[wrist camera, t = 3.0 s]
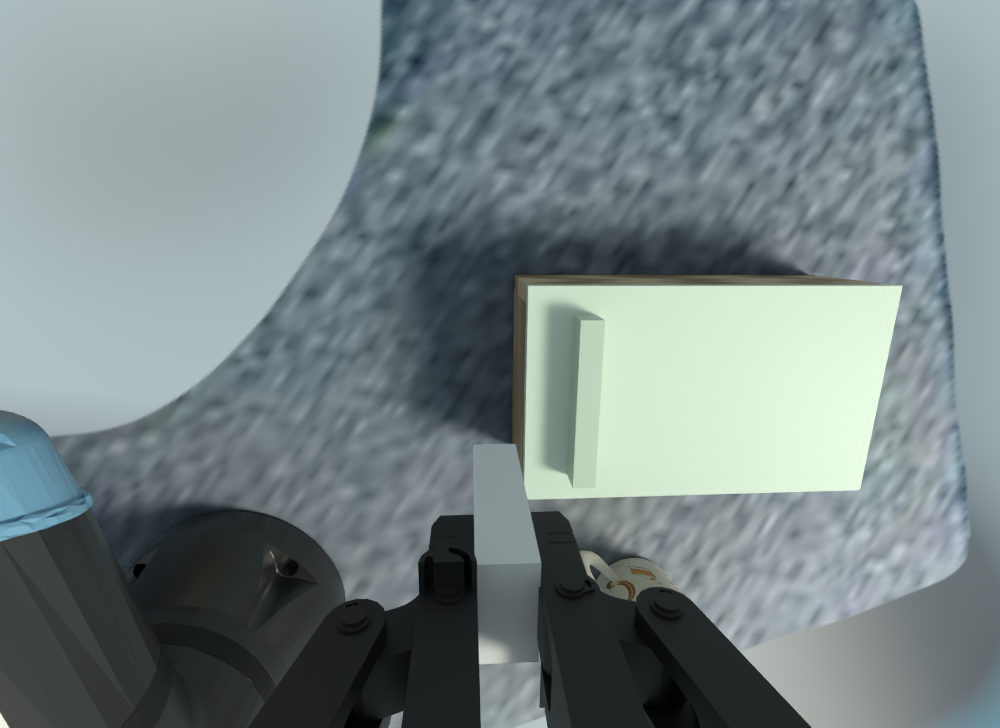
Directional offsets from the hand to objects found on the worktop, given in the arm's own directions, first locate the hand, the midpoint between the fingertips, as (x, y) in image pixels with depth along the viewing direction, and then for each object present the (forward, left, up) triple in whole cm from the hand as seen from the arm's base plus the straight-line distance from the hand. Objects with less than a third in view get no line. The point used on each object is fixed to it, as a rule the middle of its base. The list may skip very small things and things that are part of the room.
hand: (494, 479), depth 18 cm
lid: (+12, 0, -10) cm, 16 cm away
